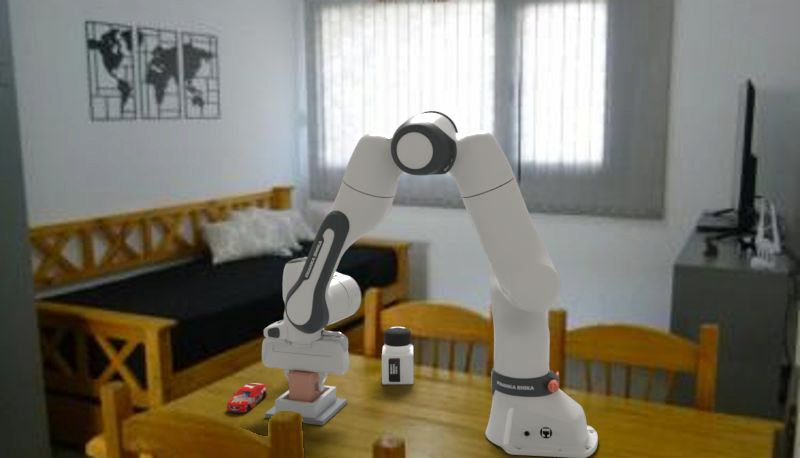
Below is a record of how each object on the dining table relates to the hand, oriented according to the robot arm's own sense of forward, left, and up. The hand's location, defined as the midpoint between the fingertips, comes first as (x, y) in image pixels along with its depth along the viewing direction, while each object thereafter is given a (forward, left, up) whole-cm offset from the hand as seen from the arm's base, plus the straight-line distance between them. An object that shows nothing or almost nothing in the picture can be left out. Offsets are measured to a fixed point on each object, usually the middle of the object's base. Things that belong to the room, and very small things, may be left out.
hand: (306, 388), depth 170 cm
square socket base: (0, 0, -5) cm, 5 cm away
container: (-13, -25, -5) cm, 29 cm away
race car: (+15, 0, -6) cm, 16 cm away
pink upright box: (0, 0, -3) cm, 3 cm away
